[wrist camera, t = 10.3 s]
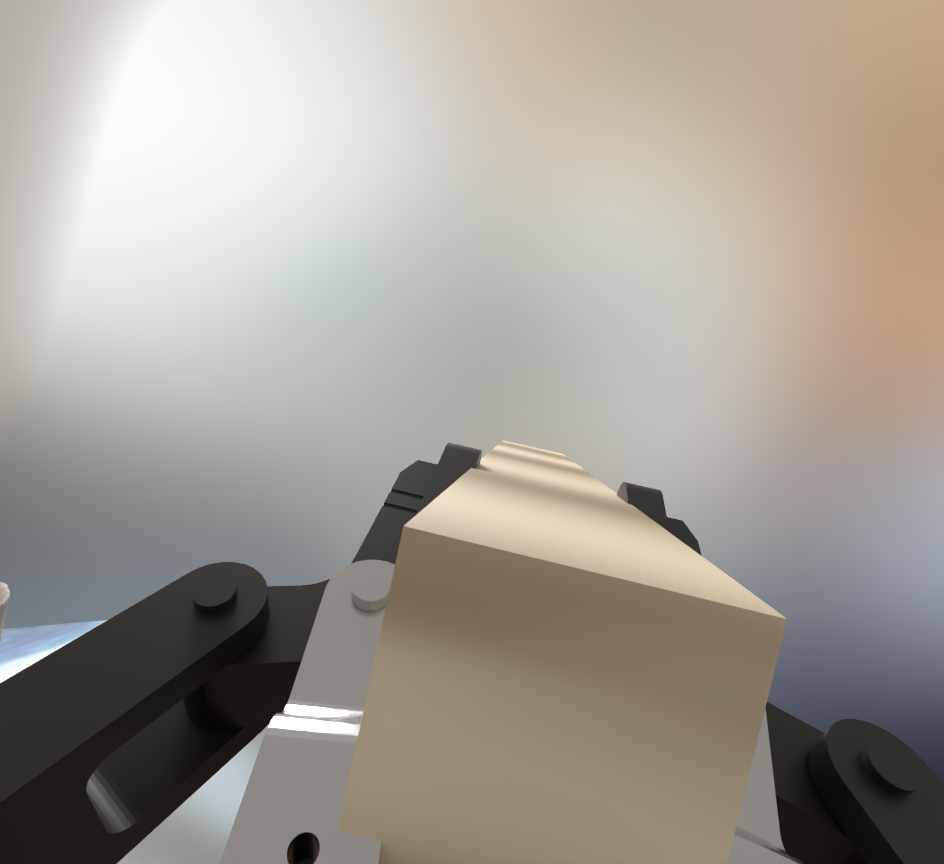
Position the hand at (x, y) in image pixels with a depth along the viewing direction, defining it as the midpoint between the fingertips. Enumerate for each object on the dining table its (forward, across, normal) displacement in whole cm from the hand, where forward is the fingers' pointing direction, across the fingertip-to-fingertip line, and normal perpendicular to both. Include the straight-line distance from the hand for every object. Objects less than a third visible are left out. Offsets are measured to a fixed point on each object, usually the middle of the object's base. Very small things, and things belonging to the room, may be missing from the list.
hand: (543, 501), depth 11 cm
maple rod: (+2, 0, -4) cm, 5 cm away
